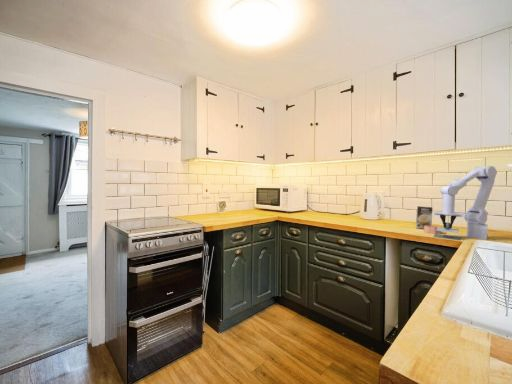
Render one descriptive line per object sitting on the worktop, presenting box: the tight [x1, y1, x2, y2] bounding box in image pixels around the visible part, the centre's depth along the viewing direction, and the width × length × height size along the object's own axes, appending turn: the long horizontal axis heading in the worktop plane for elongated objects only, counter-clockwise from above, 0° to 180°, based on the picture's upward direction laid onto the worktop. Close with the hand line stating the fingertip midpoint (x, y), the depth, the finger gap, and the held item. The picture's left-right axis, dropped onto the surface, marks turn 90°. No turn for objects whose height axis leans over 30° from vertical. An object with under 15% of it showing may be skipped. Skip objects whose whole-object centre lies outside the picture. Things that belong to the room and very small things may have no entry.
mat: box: [432, 234, 462, 241], centre depth 151 cm, size 13×12×1 cm
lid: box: [436, 222, 459, 234], centre depth 151 cm, size 10×10×5 cm
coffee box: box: [415, 206, 433, 230], centre depth 181 cm, size 9×6×16 cm
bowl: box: [423, 224, 443, 235], centre depth 165 cm, size 9×9×4 cm
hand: (447, 227), depth 151 cm, fingers closed on lid, 2 cm apart
